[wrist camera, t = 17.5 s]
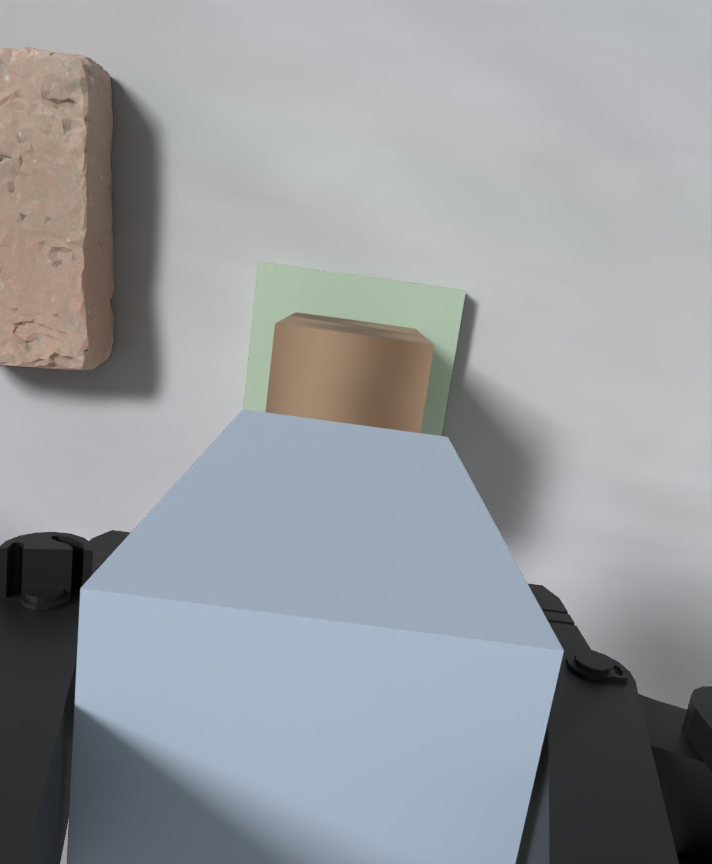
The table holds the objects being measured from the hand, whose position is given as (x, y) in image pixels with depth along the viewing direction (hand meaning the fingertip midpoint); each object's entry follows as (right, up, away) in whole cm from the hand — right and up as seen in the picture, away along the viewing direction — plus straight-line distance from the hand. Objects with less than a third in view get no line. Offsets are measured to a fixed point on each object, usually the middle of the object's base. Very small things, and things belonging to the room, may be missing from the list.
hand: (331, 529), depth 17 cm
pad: (0, +6, +24) cm, 25 cm away
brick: (-18, +15, +23) cm, 32 cm away
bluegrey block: (0, 0, +1) cm, 1 cm away
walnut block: (0, +6, +23) cm, 24 cm away
